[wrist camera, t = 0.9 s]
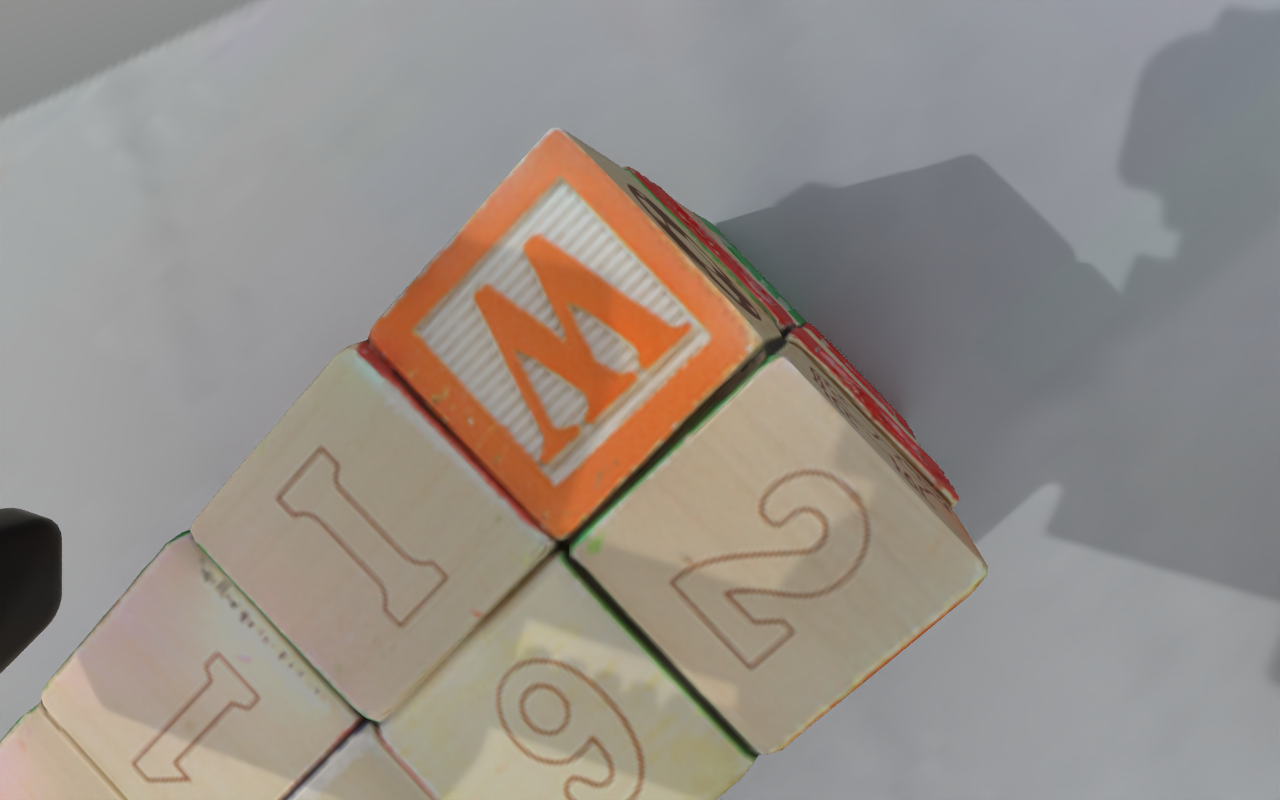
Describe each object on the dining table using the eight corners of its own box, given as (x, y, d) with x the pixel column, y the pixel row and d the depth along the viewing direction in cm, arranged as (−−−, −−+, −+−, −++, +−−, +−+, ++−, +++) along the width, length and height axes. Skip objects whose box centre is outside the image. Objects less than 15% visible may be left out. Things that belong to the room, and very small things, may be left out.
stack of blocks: (299, 968, 26) (-173, 1558, 14) (142, 790, 26) (-450, 1214, 14) (913, 417, 21) (1012, 580, 9) (712, 211, 21) (552, 107, 9)
